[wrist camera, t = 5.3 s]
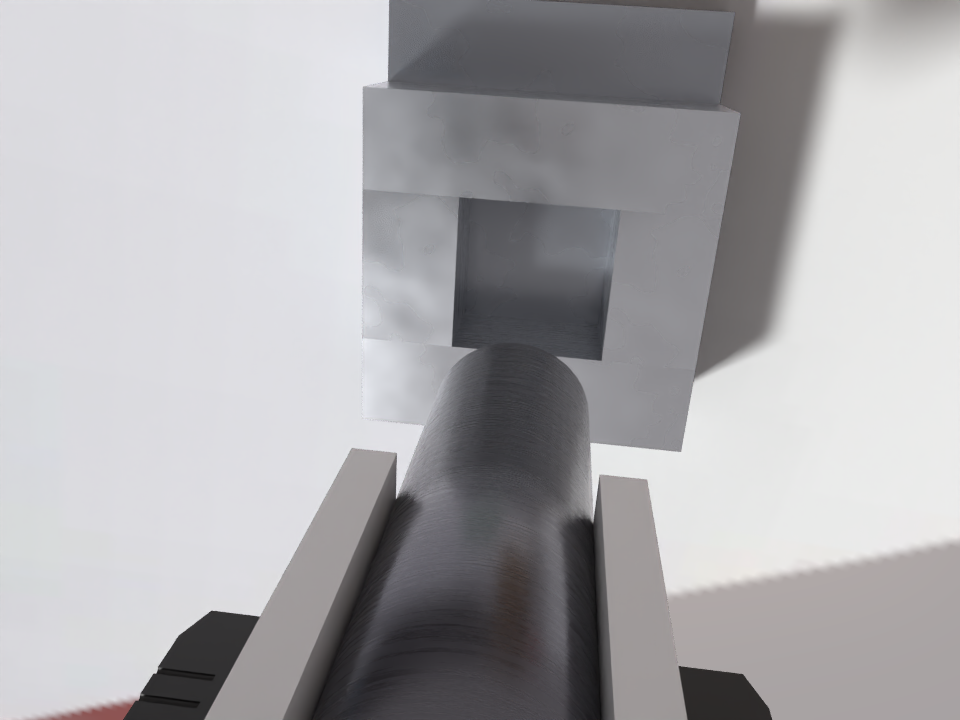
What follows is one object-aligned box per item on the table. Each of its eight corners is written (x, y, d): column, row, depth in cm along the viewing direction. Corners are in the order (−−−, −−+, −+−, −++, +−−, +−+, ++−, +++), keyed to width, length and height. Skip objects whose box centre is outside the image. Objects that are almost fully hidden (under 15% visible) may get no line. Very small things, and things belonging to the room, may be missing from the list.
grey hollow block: (390, 368, 35) (362, 419, 30) (396, -7, 29) (363, -16, 24) (665, 395, 34) (681, 451, 29) (728, 13, 28) (759, 7, 23)
